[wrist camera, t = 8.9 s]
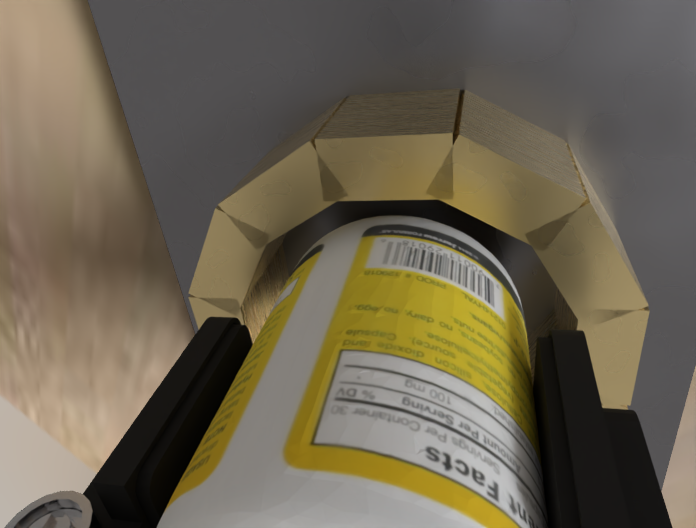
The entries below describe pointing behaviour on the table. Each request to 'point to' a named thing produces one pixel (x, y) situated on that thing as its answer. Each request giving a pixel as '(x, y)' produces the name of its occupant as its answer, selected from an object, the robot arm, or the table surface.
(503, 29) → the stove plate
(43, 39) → the table surface
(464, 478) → the supplement bottle
